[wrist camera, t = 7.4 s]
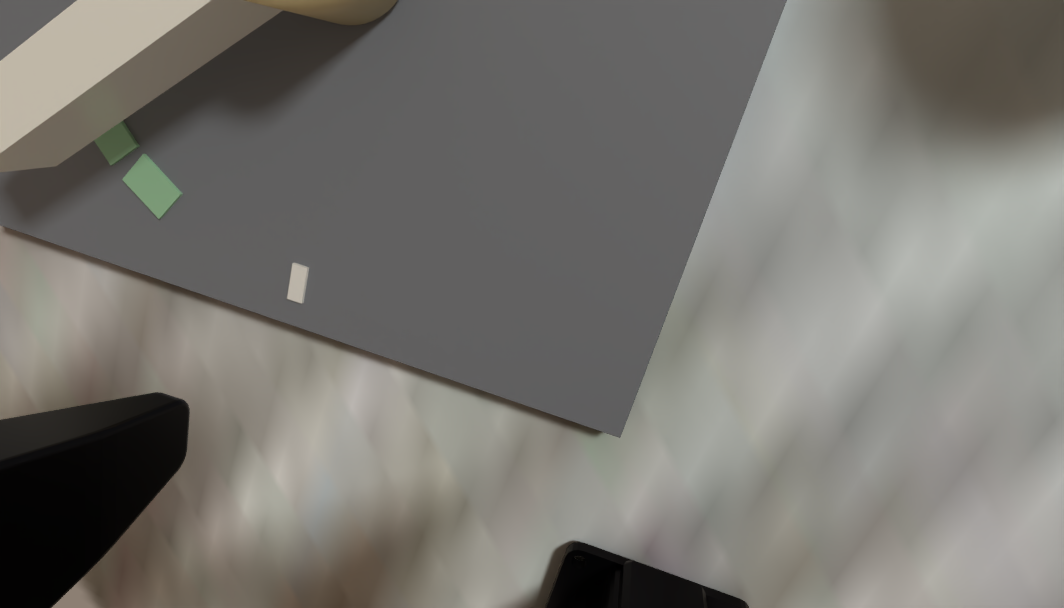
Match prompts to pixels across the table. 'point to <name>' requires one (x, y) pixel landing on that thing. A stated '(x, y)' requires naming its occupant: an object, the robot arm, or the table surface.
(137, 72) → the beige and tan rod
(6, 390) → the table surface
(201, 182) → the grey flat square plate
